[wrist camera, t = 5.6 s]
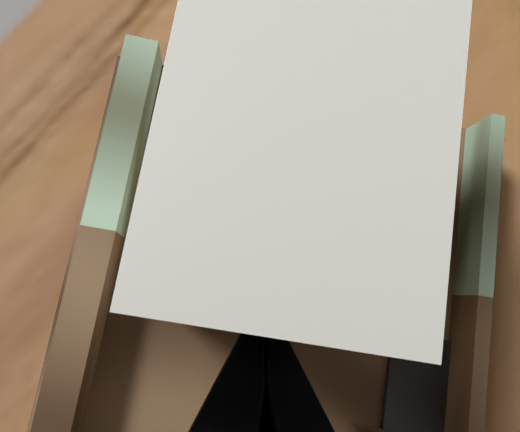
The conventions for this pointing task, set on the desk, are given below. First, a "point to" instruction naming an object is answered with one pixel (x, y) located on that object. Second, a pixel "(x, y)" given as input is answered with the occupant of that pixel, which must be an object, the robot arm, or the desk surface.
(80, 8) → the desk surface
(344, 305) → the block
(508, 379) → the desk surface
